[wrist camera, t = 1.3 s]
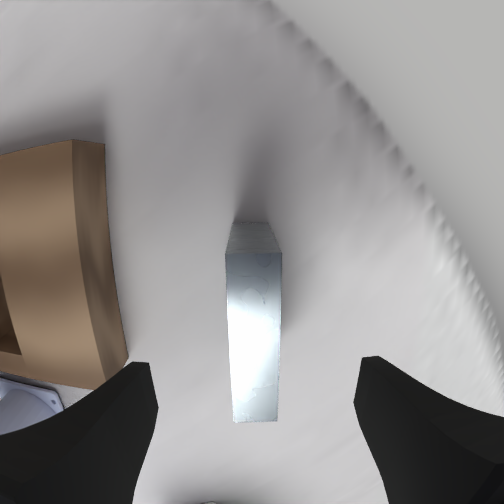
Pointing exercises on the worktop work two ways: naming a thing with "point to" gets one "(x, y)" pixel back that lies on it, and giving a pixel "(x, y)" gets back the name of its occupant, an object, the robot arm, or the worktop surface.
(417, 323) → the worktop surface
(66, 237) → the slotted tan panel
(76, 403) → the robot arm
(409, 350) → the worktop surface
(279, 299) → the grey flat-faced block
